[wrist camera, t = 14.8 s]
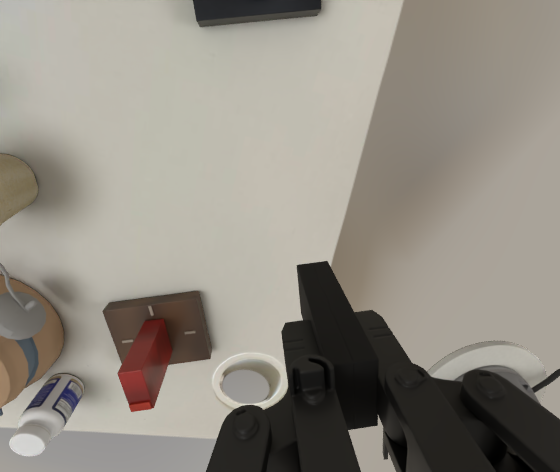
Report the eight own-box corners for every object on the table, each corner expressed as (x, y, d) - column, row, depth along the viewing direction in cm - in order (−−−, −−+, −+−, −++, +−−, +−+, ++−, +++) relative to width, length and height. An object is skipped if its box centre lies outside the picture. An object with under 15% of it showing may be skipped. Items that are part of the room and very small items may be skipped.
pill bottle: (45, 396, 46) (1, 457, 38) (48, 369, 45) (2, 427, 37) (83, 402, 48) (48, 462, 39) (87, 376, 46) (52, 433, 38)
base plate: (198, 290, 42) (196, 299, 40) (212, 349, 46) (210, 359, 44) (108, 302, 42) (101, 311, 40) (129, 360, 46) (124, 372, 44)
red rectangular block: (144, 320, 41) (116, 375, 32) (163, 318, 41) (140, 371, 32) (154, 353, 43) (130, 413, 34) (172, 351, 43) (153, 410, 35)
